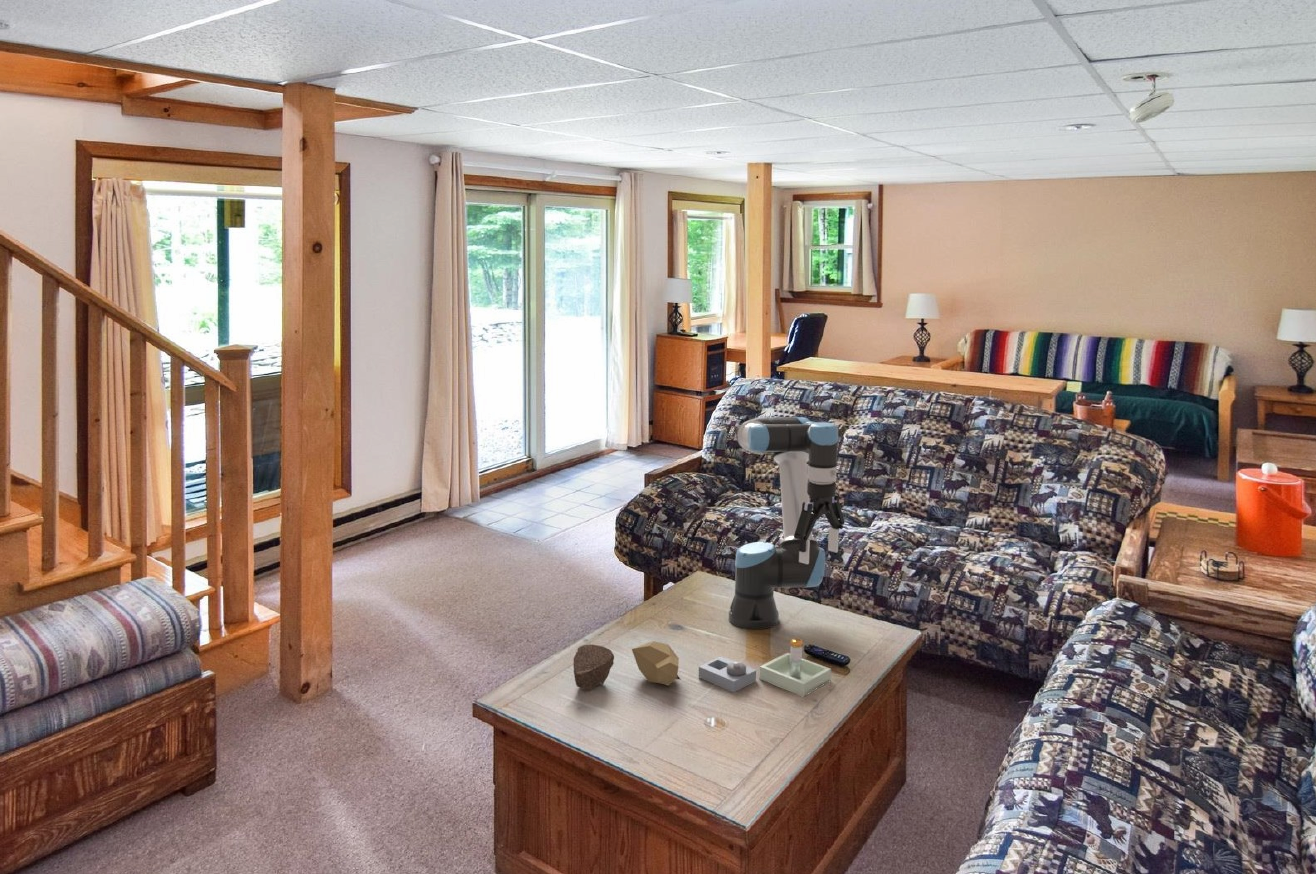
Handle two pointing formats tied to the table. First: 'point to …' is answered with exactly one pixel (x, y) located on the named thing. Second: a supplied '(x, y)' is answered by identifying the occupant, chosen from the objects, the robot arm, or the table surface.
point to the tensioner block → (727, 673)
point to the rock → (592, 666)
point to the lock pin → (795, 658)
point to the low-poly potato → (657, 662)
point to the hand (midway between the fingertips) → (818, 557)
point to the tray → (779, 676)
